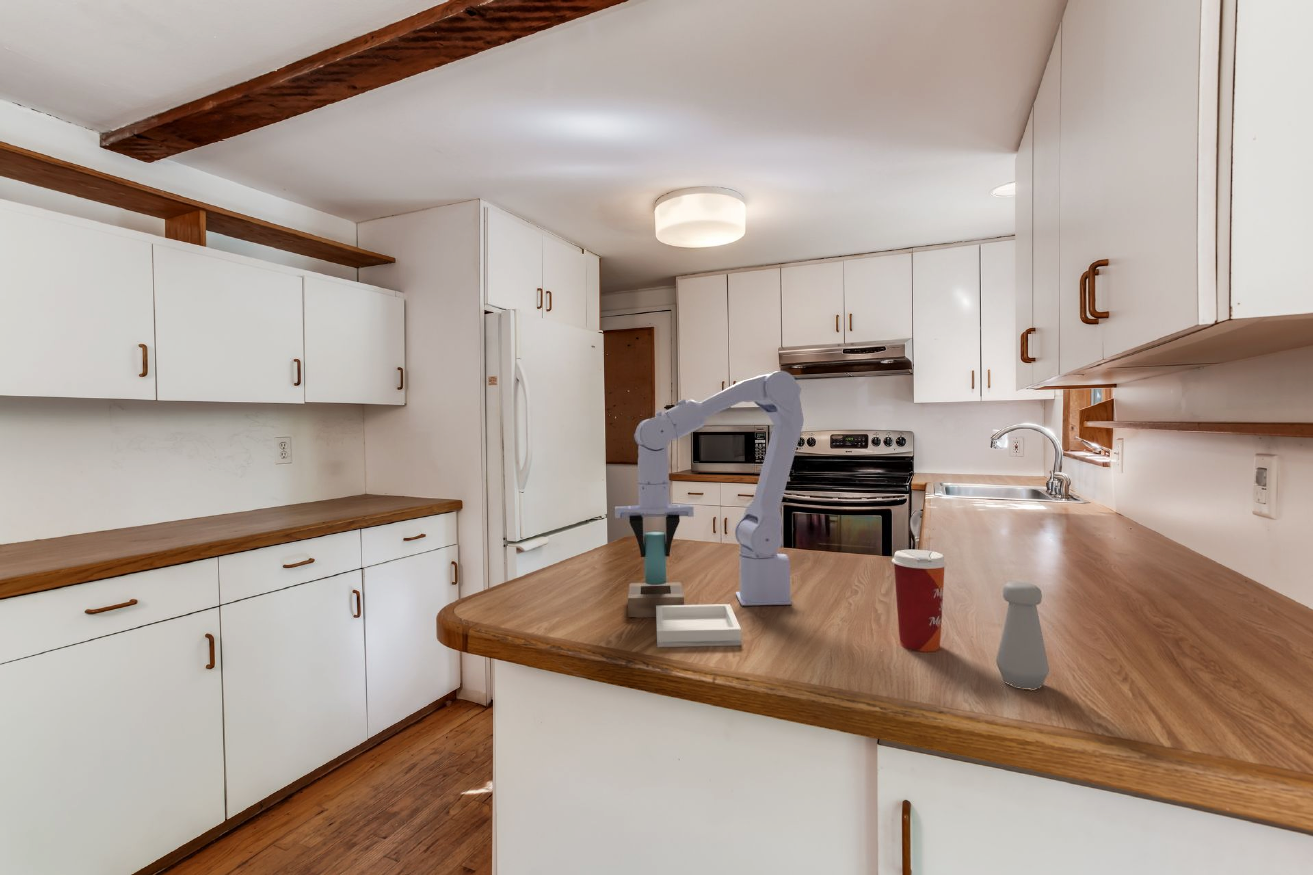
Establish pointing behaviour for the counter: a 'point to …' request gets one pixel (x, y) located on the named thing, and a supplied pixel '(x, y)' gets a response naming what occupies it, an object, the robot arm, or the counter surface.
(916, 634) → the paper cup
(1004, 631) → the salt shaker
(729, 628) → the tray
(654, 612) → the socket block
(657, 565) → the dowel
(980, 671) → the counter surface
